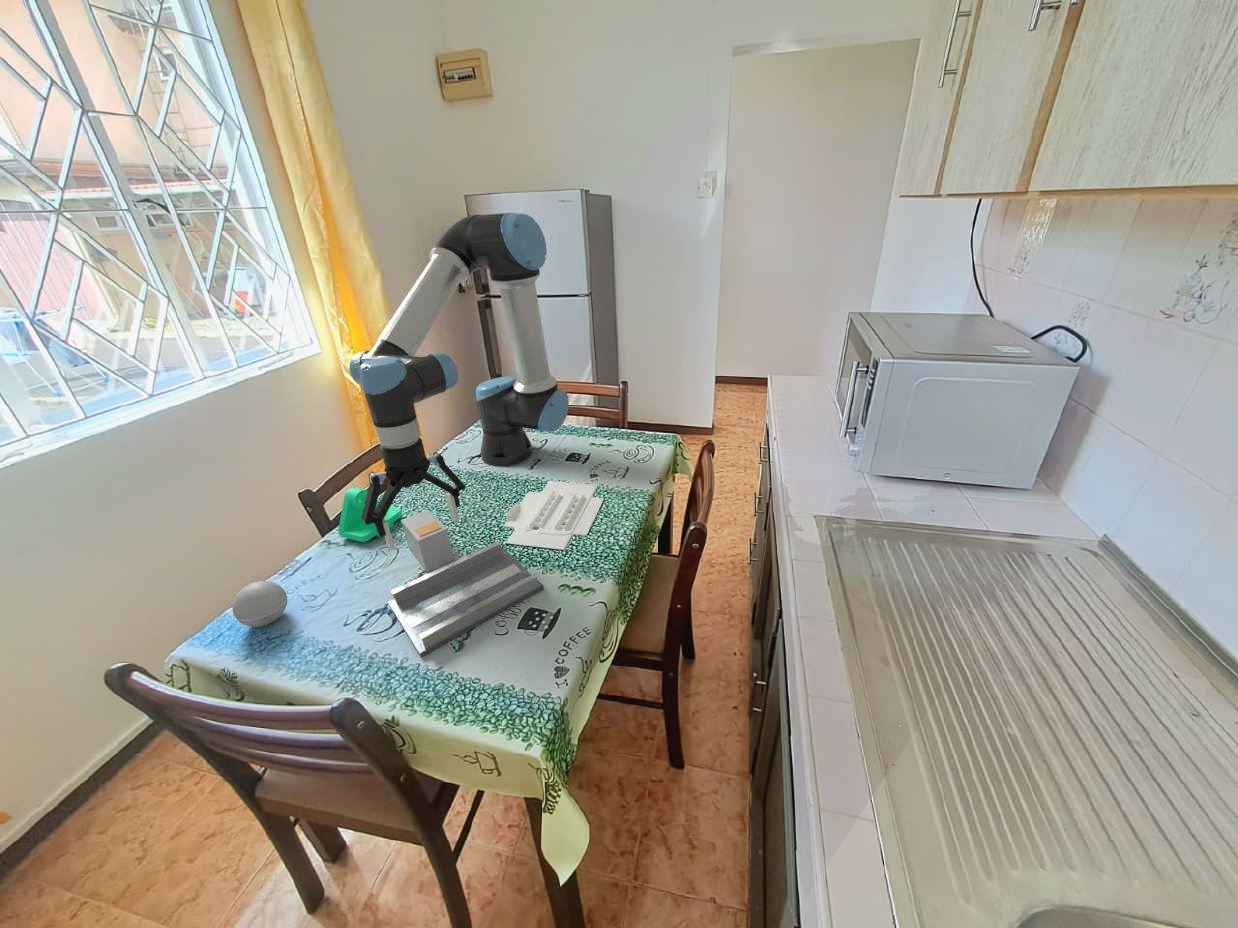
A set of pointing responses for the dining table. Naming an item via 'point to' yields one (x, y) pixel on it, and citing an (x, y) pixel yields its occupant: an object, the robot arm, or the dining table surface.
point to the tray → (553, 515)
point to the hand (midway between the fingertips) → (424, 533)
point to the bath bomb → (259, 603)
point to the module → (428, 540)
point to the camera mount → (353, 521)
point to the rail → (461, 596)
